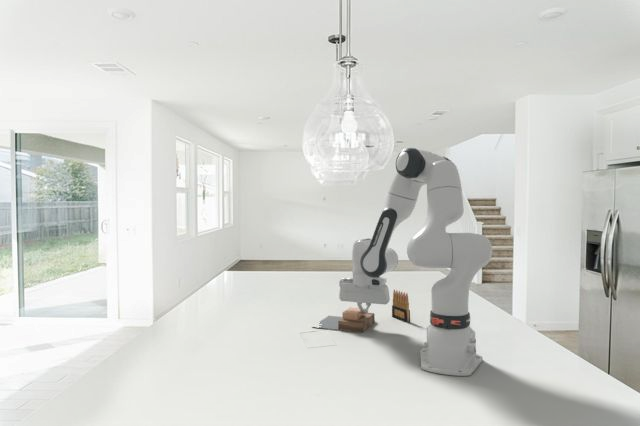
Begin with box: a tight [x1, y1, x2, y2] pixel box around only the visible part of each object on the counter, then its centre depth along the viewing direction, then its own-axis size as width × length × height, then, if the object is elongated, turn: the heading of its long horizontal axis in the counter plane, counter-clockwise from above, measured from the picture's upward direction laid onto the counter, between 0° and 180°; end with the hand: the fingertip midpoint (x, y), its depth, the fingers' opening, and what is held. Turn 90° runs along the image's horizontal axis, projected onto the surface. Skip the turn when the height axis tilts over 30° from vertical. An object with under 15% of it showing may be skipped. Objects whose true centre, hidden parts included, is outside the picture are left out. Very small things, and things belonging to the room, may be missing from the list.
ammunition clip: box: [391, 289, 411, 324], centre depth 175 cm, size 11×2×12 cm, turn 24°
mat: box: [318, 315, 343, 331], centre depth 171 cm, size 18×11×1 cm, turn 157°
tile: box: [342, 306, 364, 320], centre depth 168 cm, size 9×6×2 cm, turn 157°
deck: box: [338, 312, 376, 333], centre depth 167 cm, size 16×10×4 cm, turn 157°
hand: (364, 313), depth 166 cm, fingers closed
